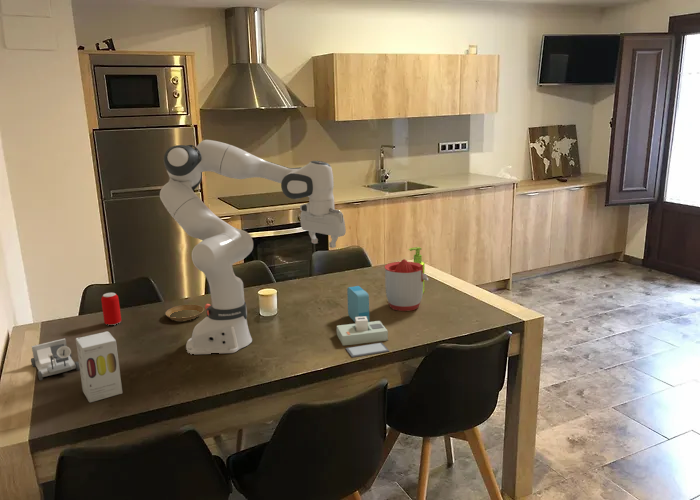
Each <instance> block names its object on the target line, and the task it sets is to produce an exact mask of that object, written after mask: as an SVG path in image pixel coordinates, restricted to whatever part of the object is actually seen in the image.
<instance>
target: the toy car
mask: <svg viewBox="0 0 700 500" xmlns="http://www.w3.org/2000/svg"><path fill="white" fill-rule="evenodd" d="M31 351H32V358H30V362H31V366H32V368H35V367H36V368H37V377H38V380H39V381H40V382H41V381H43V380H44V379H43V378H45V377H48V376H53V375H57V374H61V373H65V372H68V371H71V370H76V371H77V372H78V371H80V367H79V360H77V361H74V360H73V359H72V350H71V348H70V347H69V346H67V339H66V338H60V339H56V340H52V341H48V342H43V343H40V344H35V345H31Z"/></svg>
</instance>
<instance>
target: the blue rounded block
mask: <svg viewBox="0 0 700 500" xmlns="http://www.w3.org/2000/svg"><path fill="white" fill-rule="evenodd" d="M346 291H347V315H348V317H349V318H350V319H351V320H352V321H353V322H354V323H355V317H363V316H366V317H367V320H368V322H370V295H369V292H367V291H366V290H364V289H363V288H362V287H361V286H359V285H355V286H348V287H347V290H346Z"/></svg>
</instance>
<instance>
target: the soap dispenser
mask: <svg viewBox="0 0 700 500" xmlns="http://www.w3.org/2000/svg"><path fill="white" fill-rule="evenodd" d="M421 250H422V247H420V246H419V247H418V246H416V247H410V248H408V251H410V252H412V251H415V254H413V262H415V263H419V264H422V265H423V273H424V274H425V271H426V269H425V262H424V261H422V260H423V259H422V258H423V255H421V253H420V252H421ZM423 294H425V280H423Z"/></svg>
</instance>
